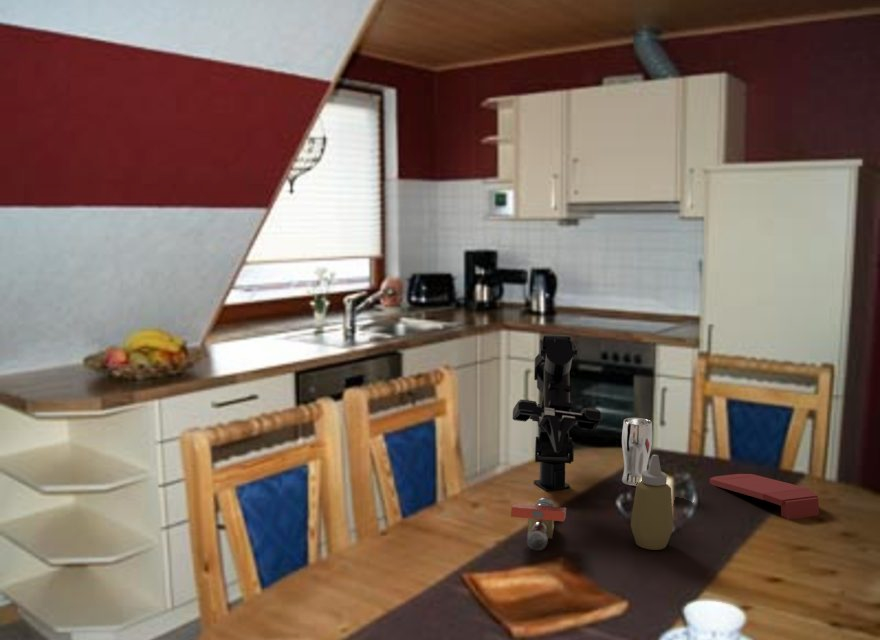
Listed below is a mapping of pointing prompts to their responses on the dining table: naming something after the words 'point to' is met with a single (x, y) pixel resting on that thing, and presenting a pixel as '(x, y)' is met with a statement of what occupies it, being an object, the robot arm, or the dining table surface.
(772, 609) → the dining table surface
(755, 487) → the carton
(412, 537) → the dining table surface
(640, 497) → the squeeze bottle
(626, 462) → the beer glass
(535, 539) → the valve
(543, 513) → the valve lever
